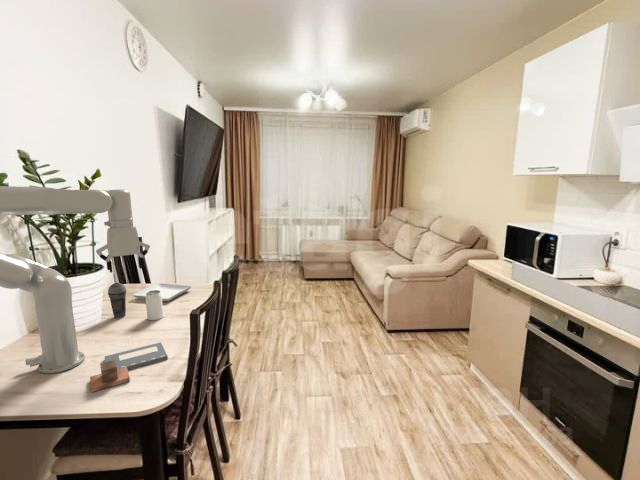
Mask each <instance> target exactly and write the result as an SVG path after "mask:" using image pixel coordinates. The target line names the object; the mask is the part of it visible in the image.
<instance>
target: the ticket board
mask: <svg viewBox="0 0 640 480" xmlns="http://www.w3.org/2000/svg"><path fill="white" fill-rule="evenodd" d="M168 358H169V357H168V353H167V352H166V350H165V348H164V346H163V344H162V342H157V343H152V344H148V345H144V346H140V347H136V348H133V349H128V350H124V351H120V352H116V353H113V354H112V353H111V354H108V355H105V356H104V363H105V362H108V361H112V360H115V362H116V367H117V369H120V368H124V367H127V370H128V371H129V370H133V369H136V368H140V367H144V366H148V365H151V364H154V363H159V362H162V361H165V360H168Z"/></svg>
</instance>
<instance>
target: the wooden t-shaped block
mask: <svg viewBox="0 0 640 480" xmlns="http://www.w3.org/2000/svg"><path fill="white" fill-rule="evenodd" d="M99 365H100V373H99V374H95V375H91V376H89V377H90V378H89V381H90V391H91V393H94V392H98V391H100V390H104V389H107V388H110V387H114V386H118V385H120V384H124V383H128V382H131V379H130V375H129V370H127V367H124V368H120V369H117V367H116V362H115V360H112V361H108V362H105V361H104V362H101V363H100V364H99Z"/></svg>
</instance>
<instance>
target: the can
mask: <svg viewBox="0 0 640 480" xmlns="http://www.w3.org/2000/svg"><path fill="white" fill-rule="evenodd" d="M145 306H146V315H147V319H148V321H158V320H161V319H163V318H164V308H163V307H164V306H163V301H162V295H161V293H160V291H159V290H153V291H149V292H147V293H146V300H145Z"/></svg>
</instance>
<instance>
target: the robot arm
mask: <svg viewBox="0 0 640 480" xmlns="http://www.w3.org/2000/svg"><path fill="white" fill-rule="evenodd" d="M132 209H133V208H132V198H131V192H130V191H129V190H127V189H108V190H100V189H64V188H63V189H62V188H53V187H46V186H13V185H12V186H11V185H10V186H8V185H7V186H6V185H5V186H4V185H0V216H22V215H25V216H27V215H29V216H31V215H62V214H63V215H64V214H65V215H66V214H67V215H71V214H72V215H73V214H74V215H75V214H81V215H82V214H103V213H106V212H107V218H108V220H107V221H104V223H103V224H104V226H105V227H106V226H108V228H107V229H106V231H107V232H106V244H105V245H103V246H102V247H99V248H97V249H96V250H95V253H96V254H97V255H98V256H99V258H100V259H102V260H104V261H105V263H106V269H107V271H109V273H110V274H111V273H113V264H112V261H111V260H112V258H114V257H123V256H132V255H137V256H138V257H137V261H138V267H139V269H143V266H144V258H145V256H146V255H147V254H148V253H149V250H150V247H151V245H150V244H148V243H145V242H142V241H140V239H139V233H138V230H137V227H136V226H134V221H133V211H132ZM141 247H143V248H144V249H143V250H142V251H141ZM105 250H107V252H108V253H107V256H106V255H105V254H103V253H102V252H103V251H104V252H105ZM0 287H1V288H4V289H10V290H15V289H19V290H23V291H25V292H28V293H31V294H32V296H33V299H34V306H35V314H36V323H37V328H38V335H39V341H40V346H41V354H40V355H38V356H37V357H35V356H34V357H31V358H26V359H25V365H26V366H29V367H30V368H31V367H35V366H37V368H38V371H39V372H40V373H42V374H56V373H61V372H65V371H68V370H71V369H73V368H75V367H77V366H79V365H81V363H83V362H84V360H85V353H83V352H82V351H79V346H78V338H77V331H76V325H75V323H76V322H75V319H74V318H75V316H74V311H73V309H74V308H73V301H72V300H73V299H72V298H73V295H72V294H73V290H72V286H71V283H70V281H69V280H68V279H67V277H66V276H65V275H63V274H62V273H61V272H59V271H58V270H56V269H54V268H51V267H49V266H46V265H44V264H42V263H39V262H36V261H34V260H31V259H29V258H26V257H24V256H21V255H18V254H13V253H11V254H7V253H6V254H4V253H1V252H0Z"/></svg>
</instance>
